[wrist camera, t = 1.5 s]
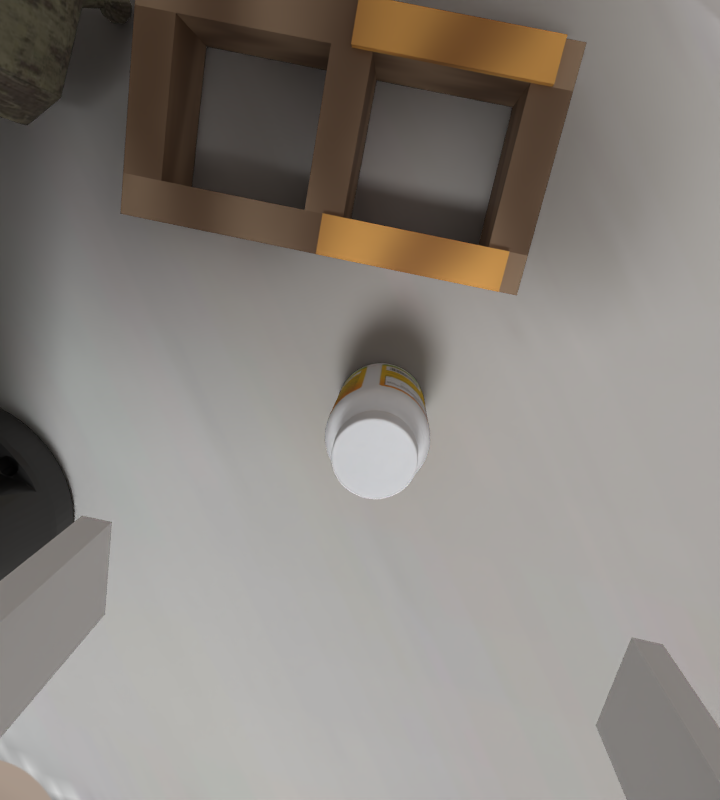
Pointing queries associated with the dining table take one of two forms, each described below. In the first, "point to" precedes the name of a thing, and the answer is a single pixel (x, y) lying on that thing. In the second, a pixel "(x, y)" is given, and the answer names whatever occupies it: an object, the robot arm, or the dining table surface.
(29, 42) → the tabletop clock
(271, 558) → the dining table surface
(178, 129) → the rack
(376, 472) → the supplement bottle
